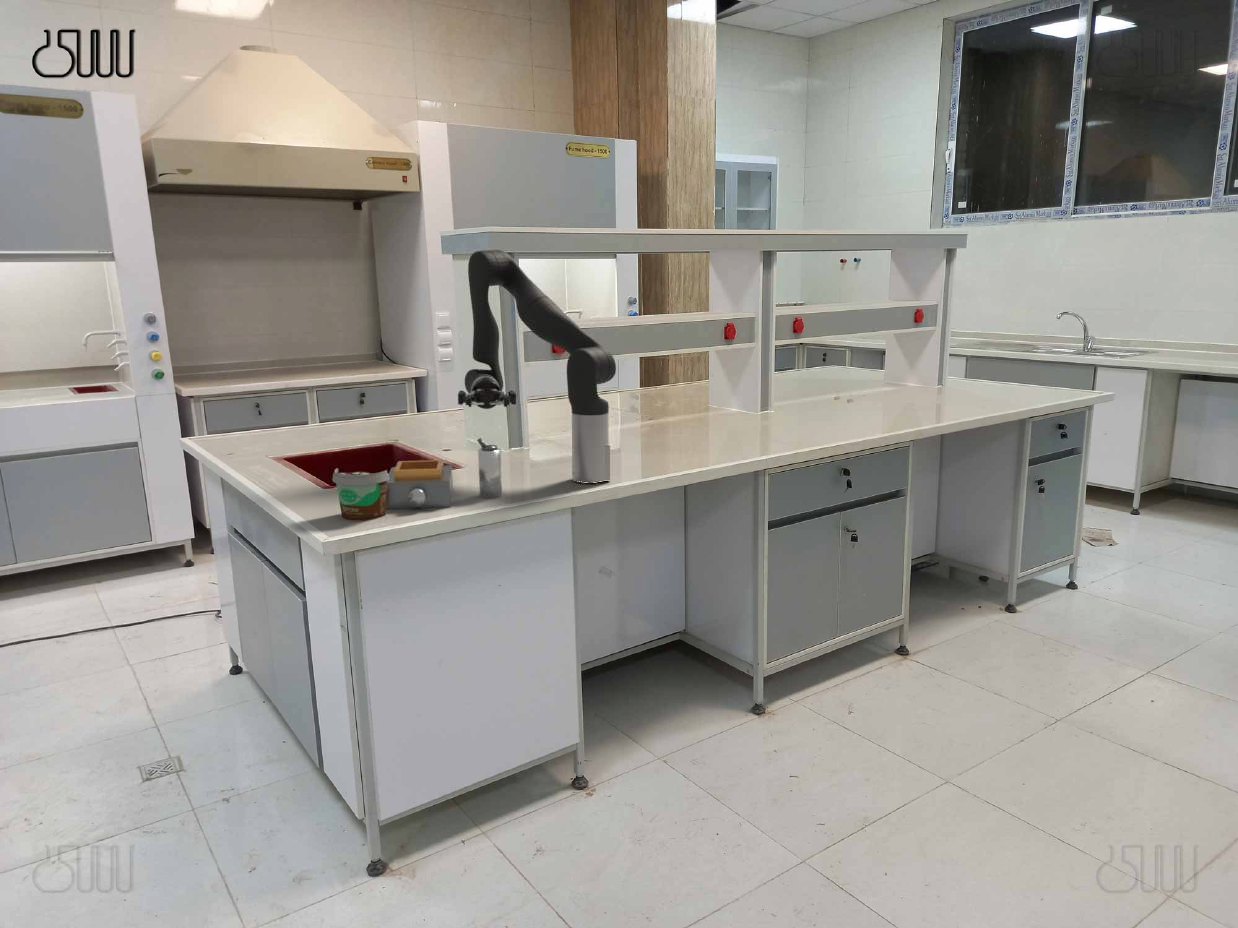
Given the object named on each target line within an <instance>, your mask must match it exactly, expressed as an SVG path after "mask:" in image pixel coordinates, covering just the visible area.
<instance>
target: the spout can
mask: <svg viewBox="0 0 1238 928" xmlns="http://www.w3.org/2000/svg"><path fill="white" fill-rule="evenodd" d="M476 441H477V442H478V444H479V445H480V446H481V448H479V449H478V450H477V456H478V457H477V458H478V461H477V462H478V481H479V482H478V485H479V487H478V489H479V491H478V492H479V497H480V498H483V499H498V498H500V496H501V497H502V496H503V486H502V485H503V483H502V481H503V480H502V448H499V447H498V445H495V444H486V443H485V441H483V439H482V438H481V437H479V438H478V439H477V440H476Z"/></svg>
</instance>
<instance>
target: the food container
mask: <svg viewBox="0 0 1238 928" xmlns="http://www.w3.org/2000/svg"><path fill="white" fill-rule="evenodd" d="M387 480H390V478H389V473H388V470H387V469H386V470H383V471H380V472H375V473H372V472H368V471H355V472H345V471H344V472H340V471H339V468H338V467H337V468H335V469H334V472H333V474H332V482H333V483H334V484H336V489H337V490H336V491H337V496H338V501H339V508H340V513H341V517H342V518H343V519H344V520H347V521H356V520H357V522H358V521H360V522H361V521H370V520H374V519H375V520H376V519H379V518H382V517H385V516H386V511H387V509H386V490H387Z"/></svg>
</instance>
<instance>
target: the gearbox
mask: <svg viewBox="0 0 1238 928" xmlns="http://www.w3.org/2000/svg"><path fill="white" fill-rule="evenodd" d="M388 474H389V478H390V480H387V490H386V510H403V509H404V510H408V509H434V508H438V509H439V508H451V506H452V500H453V499H452V498H453V492H454V487H453V486H454V484H453V466H452V465H444V460H443V459H438V460H437V459H435V460H434V459H432V460H429V459H428V460H403V461H402V460H398V462H397V463H396V465H395V466H393V467H391V468H390V470H389V473H388Z"/></svg>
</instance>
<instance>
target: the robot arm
mask: <svg viewBox="0 0 1238 928" xmlns="http://www.w3.org/2000/svg"><path fill="white" fill-rule="evenodd" d="M467 274H468V275H467V276H468V277H467V278H468V284H469V285H468V286H469V293H470V301H471V303H470V304H471V310H472V321H473V323H472V324H473V337H472V359H473V360H474V361H476V362H478V363H481V364H484V365H487V366H488V367H489V368H490V369H478V368H472V369H469V370H468V371H467V373H466V374H465V376H464V387H465V390H466V391H467V392H466V391H464V390H459V391H458V393H457V400H458V401H457V405H459V406H462V405H464V404H465V406H468V408H472V406H477V407H478V408H480V409H484V410H485V409H486V410H490V409H492V408H494V407H496V406H503V407H505V408H507V407H508V406H510V404H511V405H514V406H515V405H517V393H516V392H515V391H514V390H509V391H507V393H505V392H504V391H503V389H504V379H503V374H502V372H501V371H502V370H501V366H500V359H499V352H500V351H499V350H500V347H499V346H500V331H499V327H498V323H497V321H496V318H495V315H494V314H493V312H492V309H491V307H490V304H489V302H490V301H489V290H490V287H495V286H500V287H503V288H504V289H505V290H506V291H508V293H510V295H512V296H513V298H514V300H515V304H516V312H517V314H518V317H519V319H520V320H521V322H522V323H523V324H524V326H526V327H527V328H528V329H529V330H530V332H532V333H533V334H534V335H535V336H537V338H539V339H541V340H543V341H545V342H547V343H549V344H550V345H552V346H555V347H557V348H558V349H561V350H563V351H565V352H566V353H568V354H569V356H568V357H567V362H566V382H567V383H566V385H567V396H568V401H569V404H570V408H571V470H572V471H571V477H572V479H573V480H575V481H580V482H581V481H582V482H588V483H593V482H599V481H604V480H610V481H611V444H610V441H609V439H610V436H609V435H610V434H609V433H610V432H609V429H610V428H609V426H610V425H609V422H610V421H609V419H610V418H609V417H610V416H609V412H610V411H609V409H610V407H609V402H608V401H607V400H606V399H604V398H601V397H600V395H599V394H598V385H601V384H605V383H608V382H610V381H612V379H613V378H614V377H615V375H616V372H617V365H616V360H615V358H614V356H613V355H612V353H611V352H610V351H609V350H608V349H607V348H606V347H605V346H604V345H602V344H601V343H600V342H598V341H597V340H596V339H595V338H593V337H592V336H590V335H589V334H588V333H586V331H584V330H583V329H582V328H581V327H580V326H579V325H578V324H577V323H576V322H575V321H574V320H572V319H571V318H570V317H569V316H568V314H567V313H565V312H564V311H563V310H562V309H561V308H560V307H559V306H558V305H557V304H556V302H554V300H552V299H551V298H550V297H549V296H548V295H546V294H545V293H544V292H543V291H542V289H540V288H539V287H538V286H537V285H536V284H535V283H534V282H533V280H531V279H530V278H529V277H528V275H527V274H526V273H525V272H524V271H523V270H522V268H521V267H520V266H519V264H517V262H516V260H515V259H514V258H513V257H512V256H511V255H510V254H509V253H507V252H506V251H504V250H499V249H488V250H487V249H486V250H485V249H484V250H477V251H475V252H473V253H472V254H471V255H470V257H469V259H468V265H467ZM573 480H572V481H573Z"/></svg>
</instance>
